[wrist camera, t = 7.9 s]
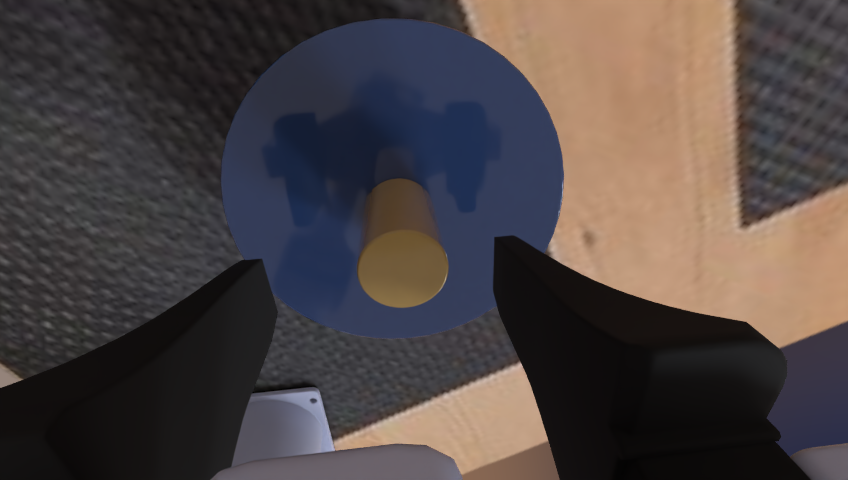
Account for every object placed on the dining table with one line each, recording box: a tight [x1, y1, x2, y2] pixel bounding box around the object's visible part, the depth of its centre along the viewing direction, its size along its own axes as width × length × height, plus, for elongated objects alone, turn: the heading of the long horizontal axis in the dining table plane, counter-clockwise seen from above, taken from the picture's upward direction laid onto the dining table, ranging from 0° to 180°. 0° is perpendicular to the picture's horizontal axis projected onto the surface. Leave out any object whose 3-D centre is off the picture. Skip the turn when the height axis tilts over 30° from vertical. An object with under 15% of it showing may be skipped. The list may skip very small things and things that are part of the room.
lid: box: [221, 18, 564, 339], centre depth 13 cm, size 13×13×5 cm
